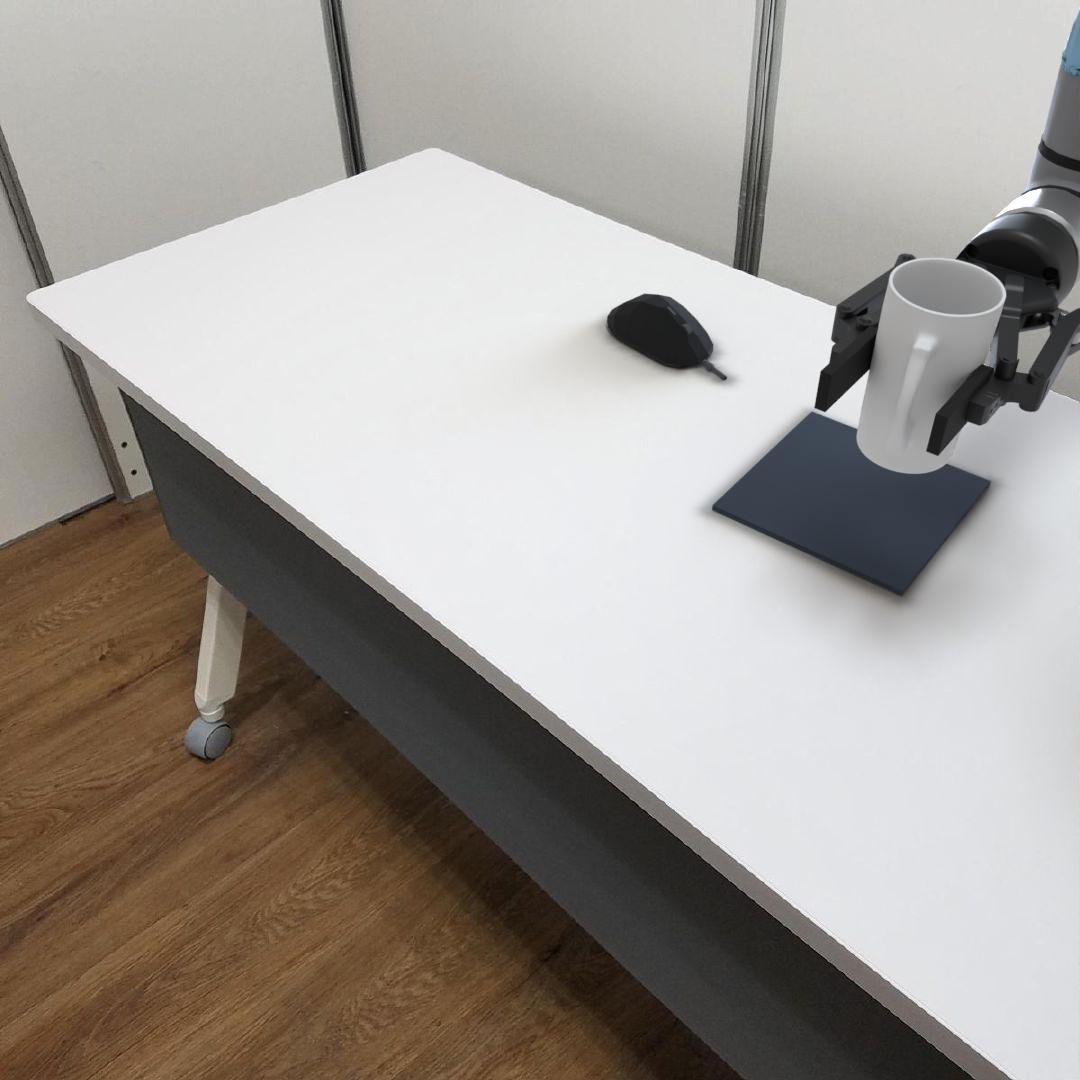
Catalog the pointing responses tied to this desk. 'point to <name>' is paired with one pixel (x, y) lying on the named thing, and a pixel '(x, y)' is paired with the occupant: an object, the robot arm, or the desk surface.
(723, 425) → the desk surface
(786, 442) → the mat
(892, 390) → the mug
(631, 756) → the desk surface
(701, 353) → the gaming mouse
